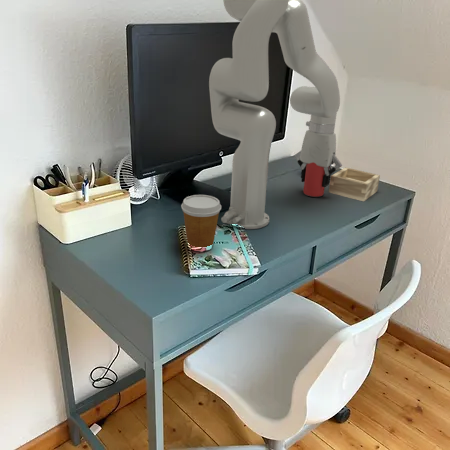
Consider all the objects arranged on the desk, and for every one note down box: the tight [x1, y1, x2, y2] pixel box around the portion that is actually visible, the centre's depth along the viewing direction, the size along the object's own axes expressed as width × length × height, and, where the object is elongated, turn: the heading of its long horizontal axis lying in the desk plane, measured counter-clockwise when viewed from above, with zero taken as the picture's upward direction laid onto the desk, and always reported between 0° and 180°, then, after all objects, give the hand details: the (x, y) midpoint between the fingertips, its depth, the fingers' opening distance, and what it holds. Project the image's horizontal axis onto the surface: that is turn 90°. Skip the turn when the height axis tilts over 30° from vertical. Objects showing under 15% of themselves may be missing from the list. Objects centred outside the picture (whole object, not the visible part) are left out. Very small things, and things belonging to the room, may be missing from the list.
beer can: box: [302, 162, 326, 198], centre depth 157 cm, size 7×7×12 cm
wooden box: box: [328, 167, 381, 202], centre depth 162 cm, size 12×12×6 cm
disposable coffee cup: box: [180, 194, 222, 247], centre depth 120 cm, size 10×10×12 cm
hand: (314, 183), depth 158 cm, fingers closed on beer can, 6 cm apart
